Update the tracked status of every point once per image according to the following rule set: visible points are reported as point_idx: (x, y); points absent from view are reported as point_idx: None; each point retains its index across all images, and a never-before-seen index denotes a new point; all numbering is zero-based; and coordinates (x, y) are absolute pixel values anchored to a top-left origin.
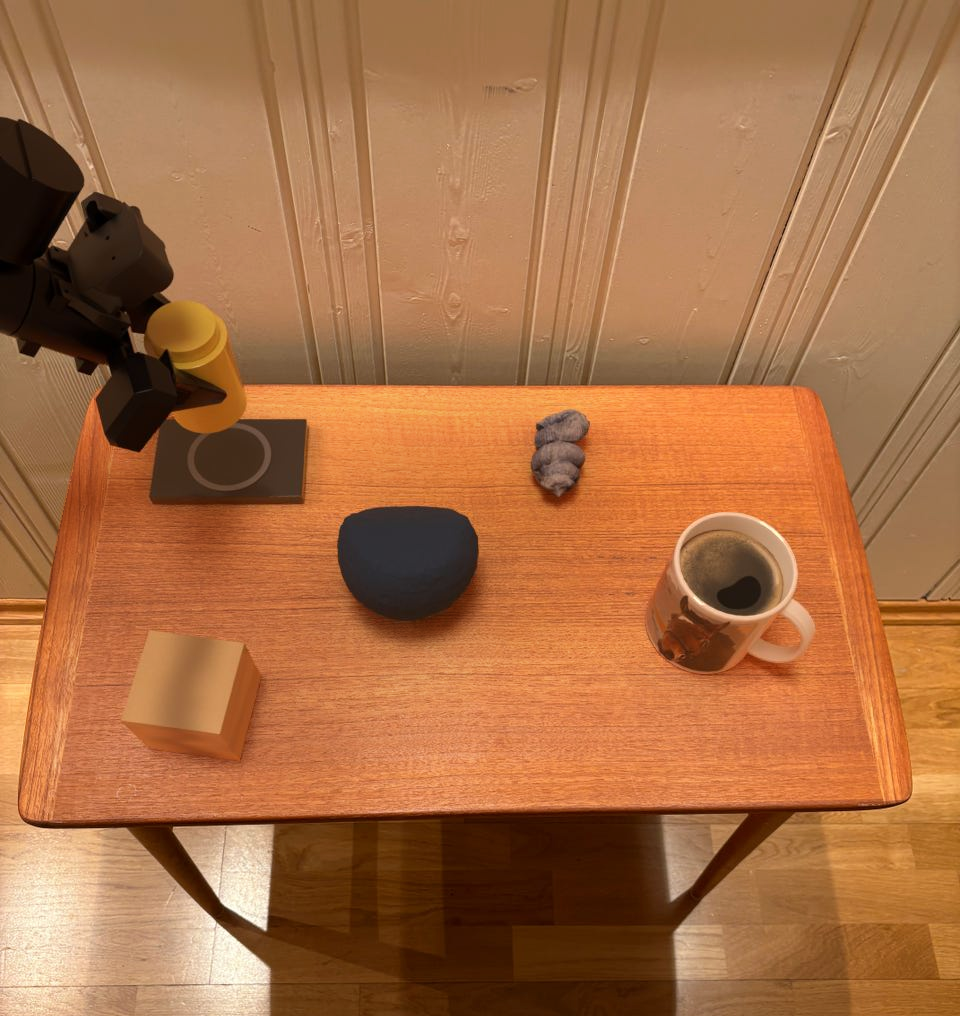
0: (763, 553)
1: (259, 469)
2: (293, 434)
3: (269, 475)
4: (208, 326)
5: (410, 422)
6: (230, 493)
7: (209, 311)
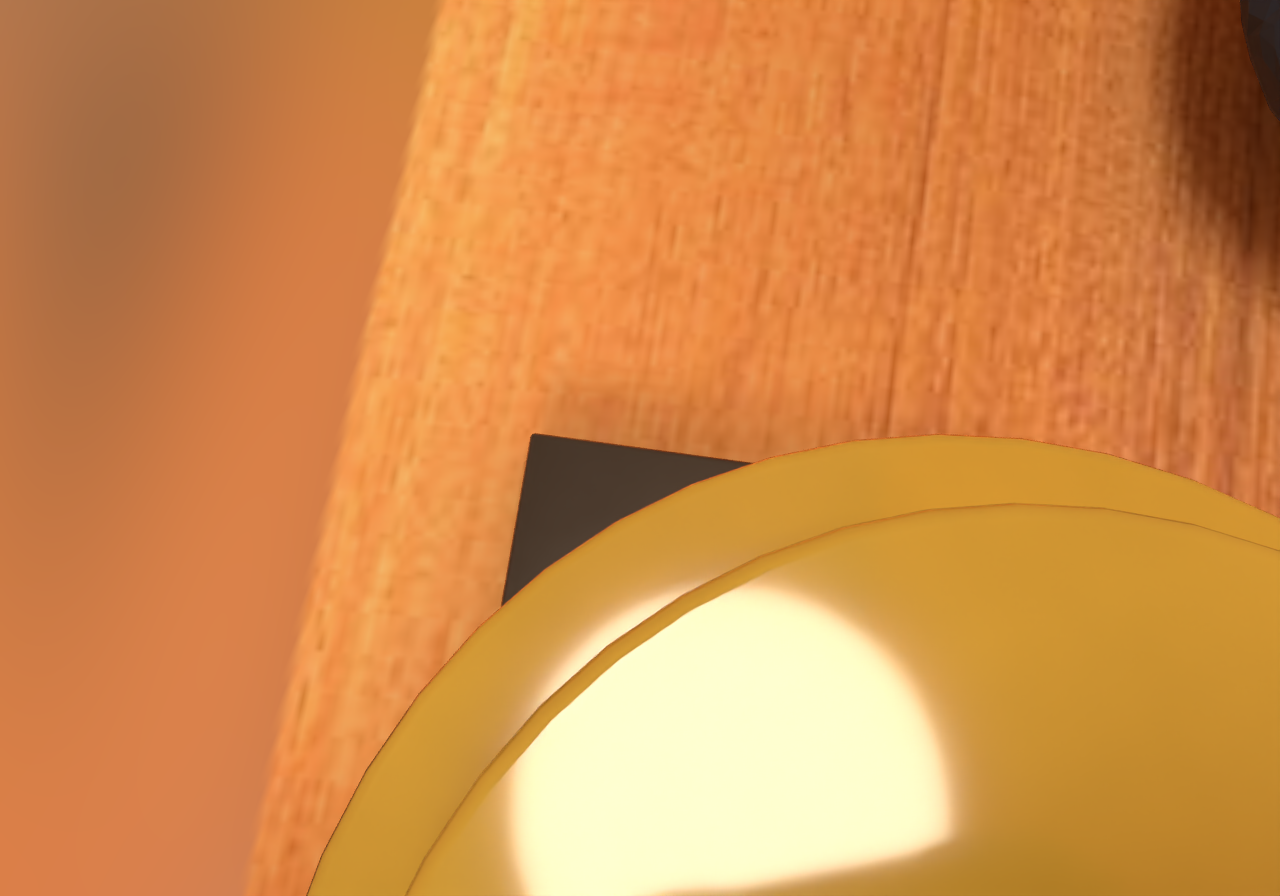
0: None
1: None
2: (620, 504)
3: None
4: (1143, 651)
5: (590, 5)
6: None
7: (735, 609)
